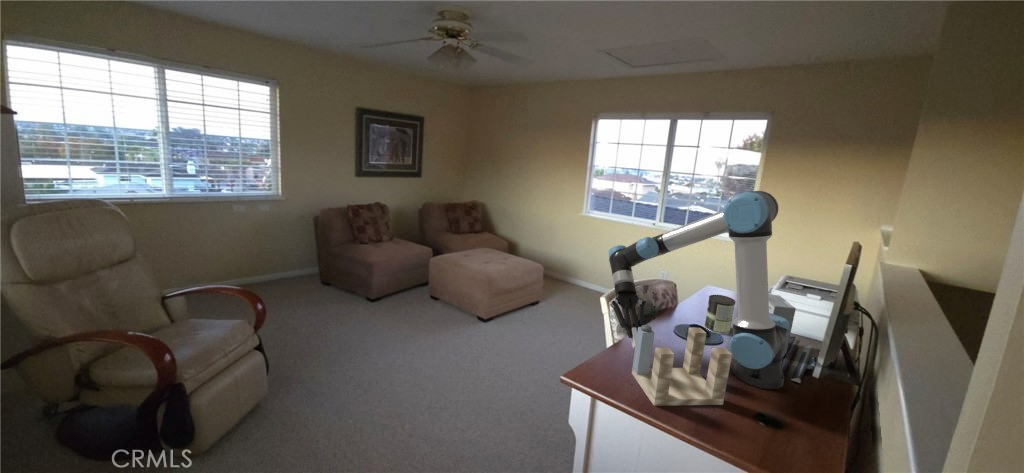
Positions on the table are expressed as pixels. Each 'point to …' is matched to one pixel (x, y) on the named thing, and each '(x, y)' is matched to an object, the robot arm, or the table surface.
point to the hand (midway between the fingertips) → (636, 346)
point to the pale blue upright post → (643, 349)
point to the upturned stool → (687, 375)
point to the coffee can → (719, 314)
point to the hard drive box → (782, 312)
